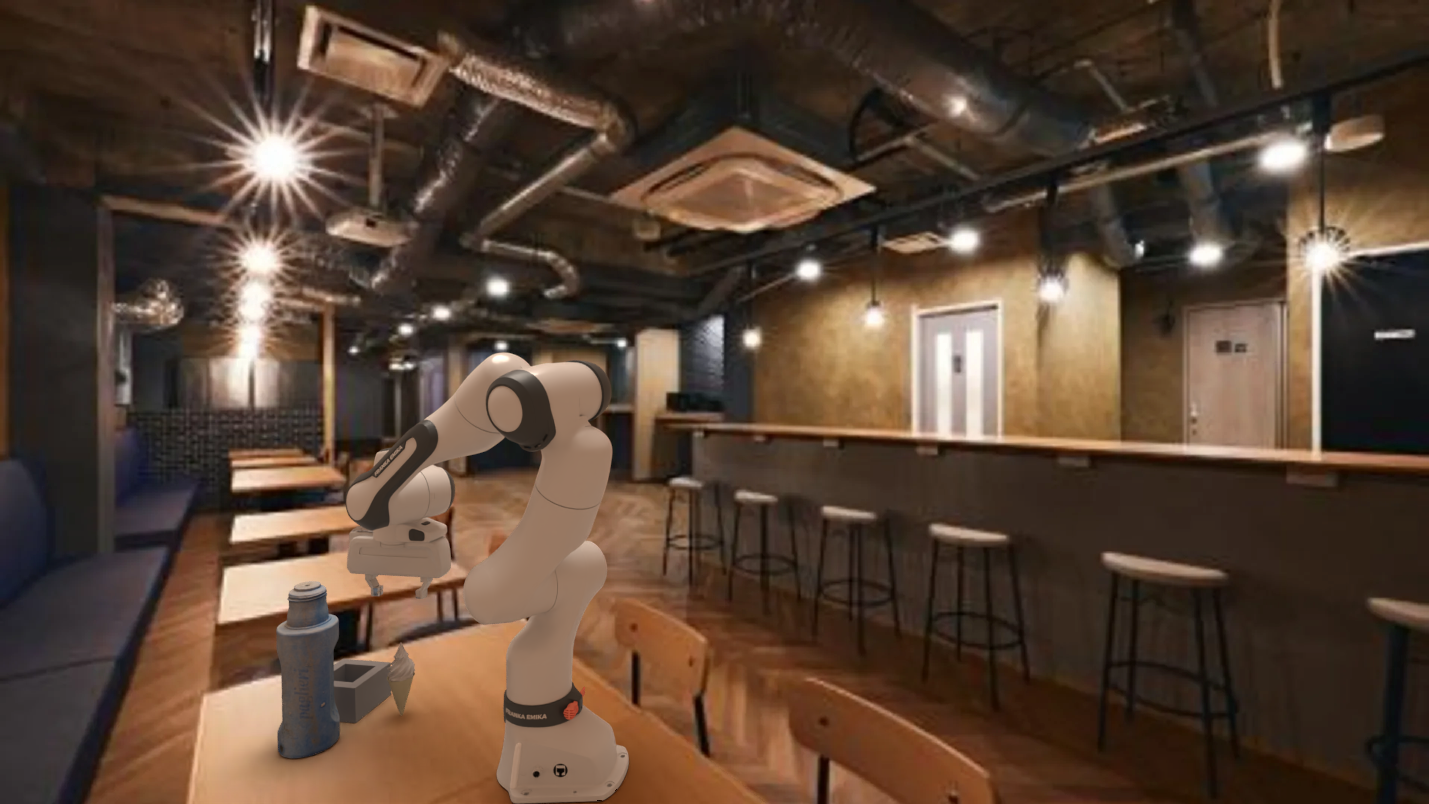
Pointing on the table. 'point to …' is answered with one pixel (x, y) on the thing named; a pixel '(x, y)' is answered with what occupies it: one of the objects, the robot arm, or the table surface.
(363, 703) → the box
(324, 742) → the bottle
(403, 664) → the ice cream cone
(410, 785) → the table surface
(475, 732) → the table surface
